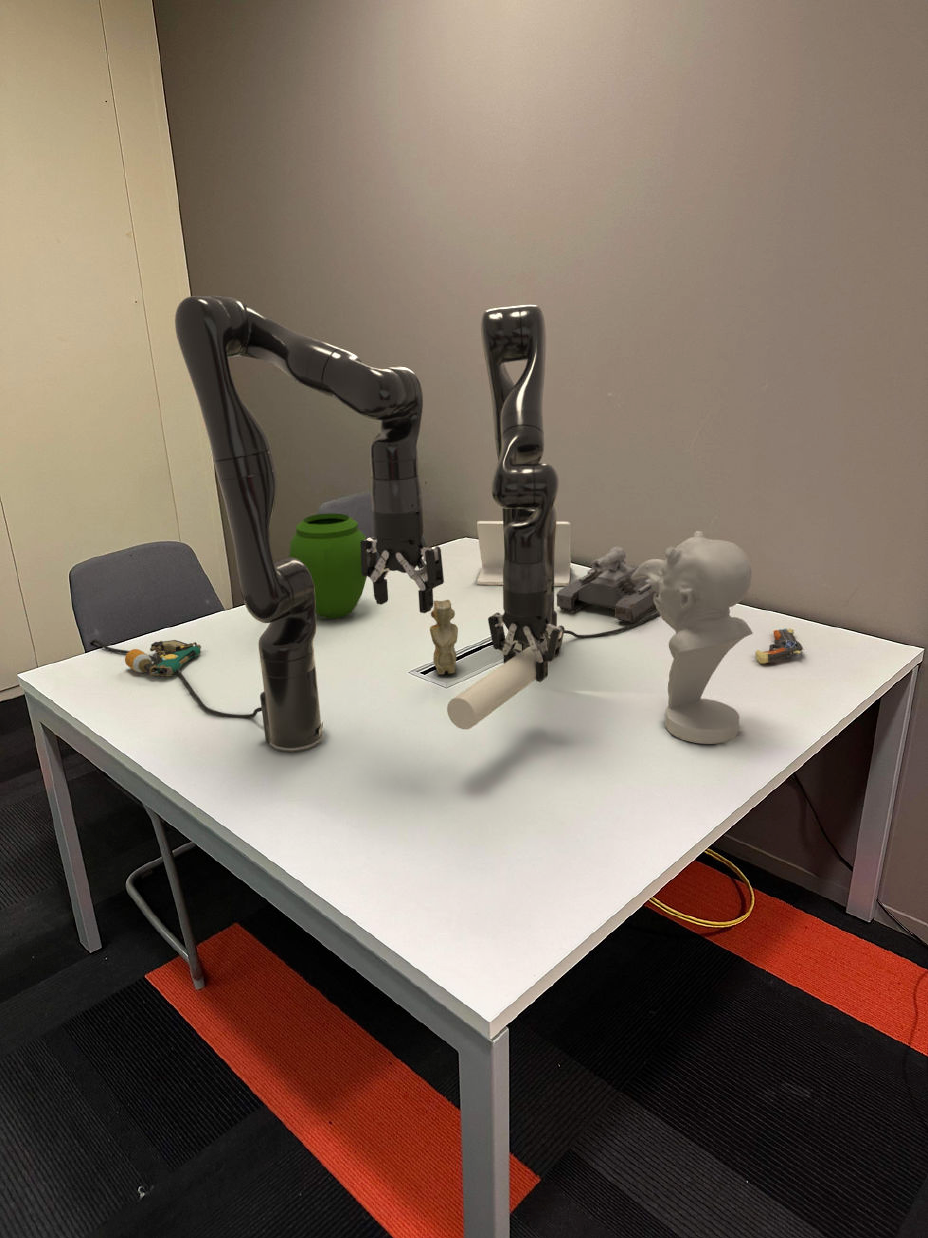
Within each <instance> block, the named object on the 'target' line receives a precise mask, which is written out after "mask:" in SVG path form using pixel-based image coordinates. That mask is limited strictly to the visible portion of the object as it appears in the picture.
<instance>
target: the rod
mask: <svg viewBox="0 0 928 1238" xmlns="http://www.w3.org/2000/svg"><path fill="white" fill-rule="evenodd" d="M536 662H537V659H536V656H535V653H534V651H532V650H531V647H528V648H526V649H525V650H523V651H522V652H520V653H519V654H517V655H516V656H514V657H513V658H512V659H510V660H509V661H507V662H506V663H504V662H503V664H501V665H500V666H498V667H497V668H495V669H494V670H493V671H491V672H489V673H488V674H487V675H485V676H484V677H482V678H481V679H479V680H477V681H476V682H475V683H473V684H472V685H471V686H469V687H468V688H466V689H465V690H463V691H462V692H460V693H459V694H457V695H456V696H455V697H453V698H452V699H450V700H449V702H448V703H447V706H446V711H447V716H448V719H449V720H450V721H451V723H452V724H453V726H455V727H457V728H458V729H461V730H465V731H466V730H470V729H472V728H473V727H474V726H476V725H477V724H479V723H480V722H482V721H483V720H484V719H485V718H486V717H488V716H490V714H492V713H493V712H494V711H496V710H497V709H499V708H501V706H502V705H504V704H505V703H507V702H508V701H509V700H510V699H512V698H513V697H515V695H517V694H518V693H521V691H522V690H524V689H525V688H527V687H528V686H529V685H530V684H532V683H533V682H534V681H536ZM549 665H550V662H549V661H548V667H549Z"/></svg>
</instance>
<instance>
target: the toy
mask: <svg viewBox="0 0 928 1238" xmlns="http://www.w3.org/2000/svg"><path fill="white" fill-rule="evenodd" d="M626 557H627V556H626V551H625V549H624V548H622V547H621V546H614V547H612V548H611V549H610V550H609V552H608V553H607V554H605V555H604V556H601V557H599V558H598V559H597V557H596V558H594V559H593V560H592V561H590V562H589V563H590V564H591V565H592V567H591V568H590V569H589V570H587V573H586V575H584V576H582V577H580V578H578V579H577V580H575V581H573V582H570V583H569V585H567V586H563V587H562V588H560V589H559V590H558V591H557V592H556V607H558V608H559V609H560V610H562V611H566V612H572V613H575V612H577V611H579V610H581V609H582V608H585V607H586V606H588V605H592V606H598V607H602V608H603V607H604V608H609V609H613V610H614V618H615V619H617V620H618V621H621V622H626V623H630V624H633V623H636V622H637V621H638V620H640V619H641V618H642V617H644V616H645V615H647V614H648V613H650V612H651V611H652V610H654V609H655V608H656V605H655V604H654V600H653V597H654V594H655V593H656V592H655V591H654V590H653V589H652V587H651V583H650V579H649V578H647V577H644V578H640V579H635V580H634V579H632V578H631V576H632V575H633V574H634V573H635V571H636V570H637V569H638V568H639V566H635V565H629V564H628V563H627V562H626V561H625V559H626Z"/></svg>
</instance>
